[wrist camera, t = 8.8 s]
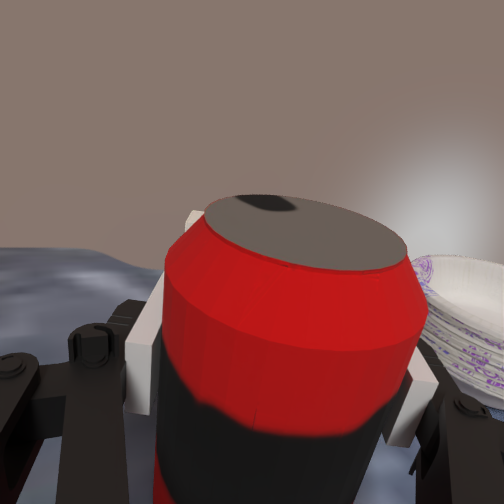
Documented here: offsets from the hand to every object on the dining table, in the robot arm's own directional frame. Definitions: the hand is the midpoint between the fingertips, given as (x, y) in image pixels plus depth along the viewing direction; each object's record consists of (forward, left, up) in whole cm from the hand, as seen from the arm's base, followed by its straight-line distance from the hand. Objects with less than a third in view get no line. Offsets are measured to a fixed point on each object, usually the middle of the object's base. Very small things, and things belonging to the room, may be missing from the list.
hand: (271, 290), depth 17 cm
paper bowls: (0, +23, -11) cm, 25 cm away
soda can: (+4, -2, -7) cm, 9 cm away
